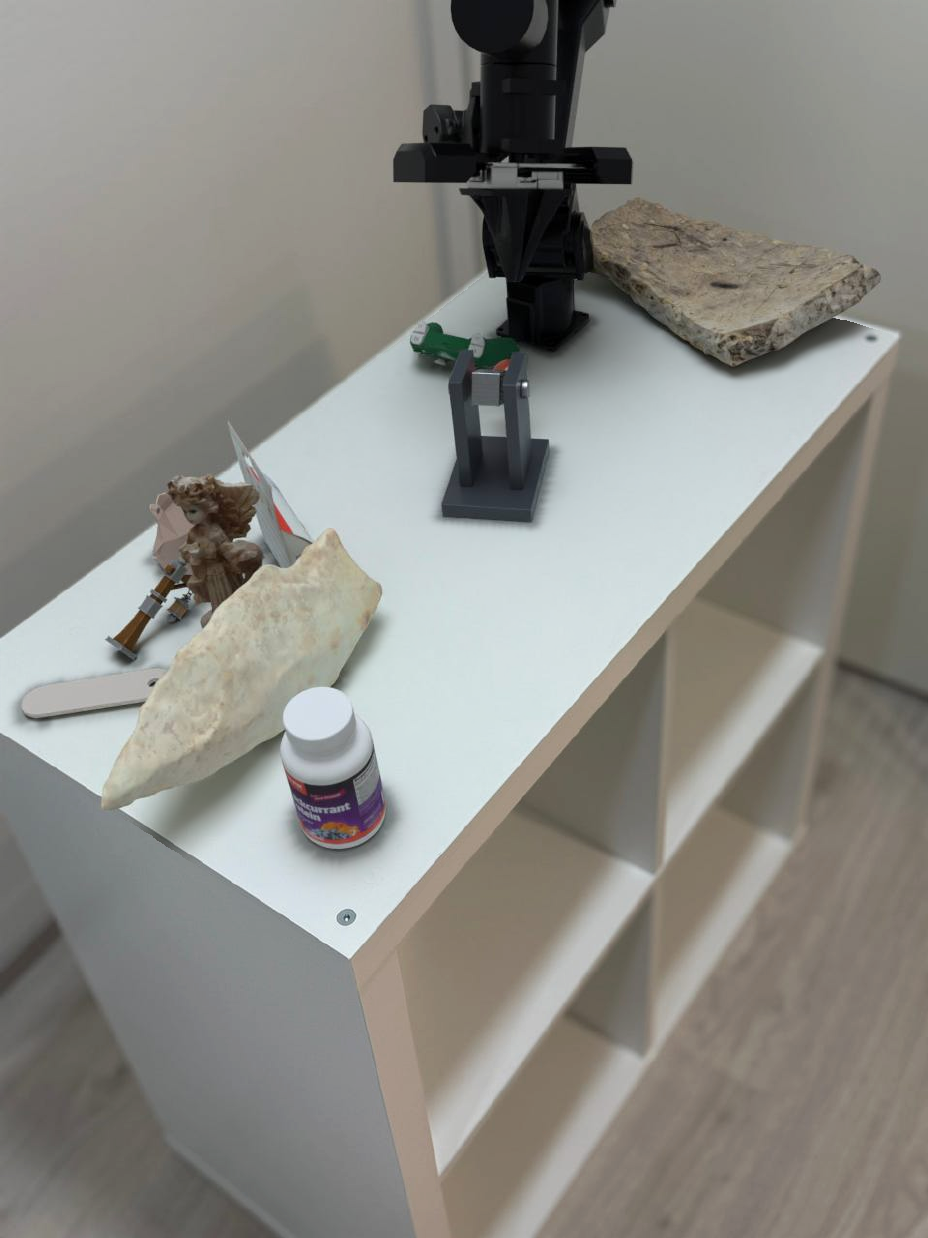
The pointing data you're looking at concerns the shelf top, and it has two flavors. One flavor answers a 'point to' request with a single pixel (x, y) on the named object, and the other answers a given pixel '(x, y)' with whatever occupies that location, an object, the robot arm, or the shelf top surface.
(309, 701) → the pill bottle
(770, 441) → the shelf top surface
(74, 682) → the keychain
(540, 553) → the shelf top surface
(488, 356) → the gaming controller
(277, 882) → the shelf top surface
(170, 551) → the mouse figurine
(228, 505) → the figurine
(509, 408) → the bracket
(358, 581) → the arrowhead
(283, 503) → the ink box
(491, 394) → the lever
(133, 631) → the wooden post with brackets
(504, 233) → the robot arm
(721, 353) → the stone fragment
